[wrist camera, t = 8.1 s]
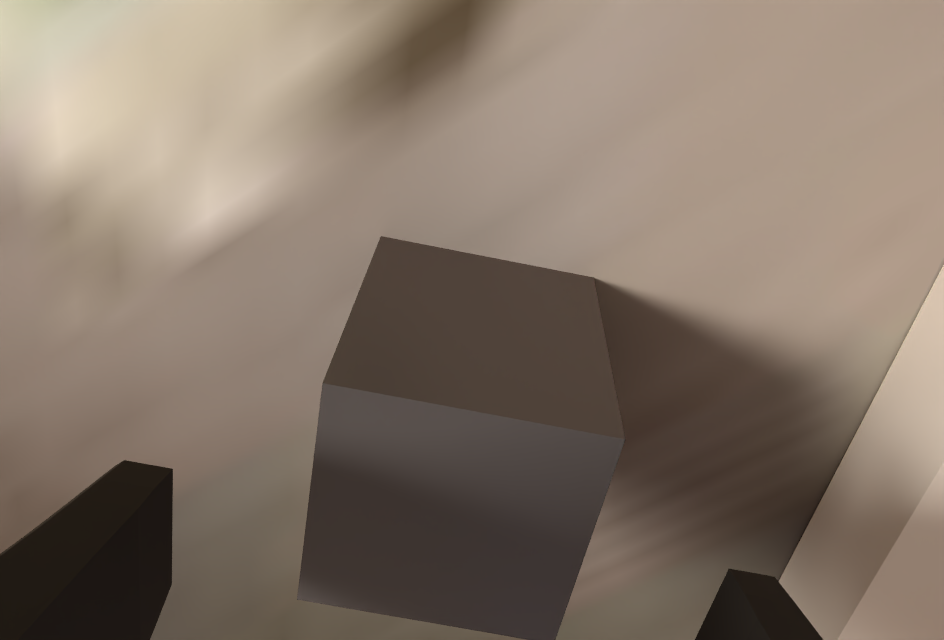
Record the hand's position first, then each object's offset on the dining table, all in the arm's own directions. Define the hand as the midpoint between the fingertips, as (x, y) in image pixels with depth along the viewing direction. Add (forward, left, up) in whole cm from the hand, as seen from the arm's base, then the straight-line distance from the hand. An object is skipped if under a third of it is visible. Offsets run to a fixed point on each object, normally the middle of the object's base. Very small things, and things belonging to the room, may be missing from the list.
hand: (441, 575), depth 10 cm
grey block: (0, 0, -6) cm, 6 cm away
